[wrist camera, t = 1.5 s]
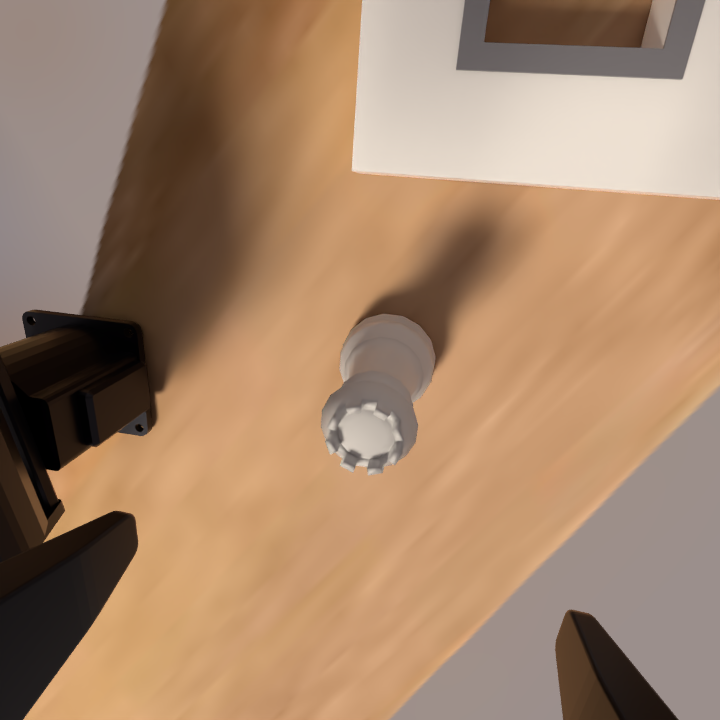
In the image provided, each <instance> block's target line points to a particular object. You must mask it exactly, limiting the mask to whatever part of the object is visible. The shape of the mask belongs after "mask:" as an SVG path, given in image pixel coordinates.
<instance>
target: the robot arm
mask: <svg viewBox="0 0 720 720" xmlns="http://www.w3.org/2000/svg"><path fill="white" fill-rule="evenodd" d="M33 318H34V319H35V321H34V319H33ZM22 319H23V324H24V329H25V334H26V338H25V339H22V340H19V341H16V342H13V343H10V344H7V345H4V346H2V347H0V720H23V719H24V718H25V716H26V715H27V713H28V712H29V711H30V709H31V708H32V707H33V705H34V704H35V703H36V701H37V700H38V698H39V697H40V696H41V694H42V693H43V692H44V690H45V689H46V687H47V686H48V685H49V683H50V682H51V681H52V679H53V678H54V677H55V675H56V674H57V672H58V671H59V670H60V668H61V667H62V666H63V664H64V663H65V661H66V660H67V659H68V657H69V656H70V655H71V653H72V652H73V651H74V649H75V648H76V646H77V645H78V644H79V642H80V641H81V640H82V638H83V637H84V635H85V634H86V633H87V631H88V630H89V628H90V627H91V626H92V624H93V623H94V621H95V619H96V618H97V616H98V615H99V613H100V612H101V610H102V608H103V607H104V605H105V603H106V602H107V600H108V598H109V597H110V595H111V593H112V592H113V590H114V589H115V587H116V585H117V584H118V582H119V580H120V579H121V577H122V575H123V574H124V572H125V570H126V569H127V567H128V565H129V564H130V562H131V560H132V559H133V557H134V555H135V553H136V551H137V548H138V536H137V528H136V520H135V517H134V516H133V514H130V513H126V512H121V511H113V512H110V513H108V514H106V515H104V516H101V517H99V518H97V519H95V520H93V521H90V522H88V523H86V524H84V525H82V526H79V527H77V528H75V529H73V530H71V531H69V532H66V533H64V534H62V535H60V536H58V537H55V538H53V539H51V540H49V541H47V542H44V540H45V539H46V537H47V536H48V535H49V533H50V532H51V530H52V529H53V527H54V526H55V524H56V523H57V522H58V520H59V519H60V517H61V516H62V514H63V513H64V512H65V509H64V506H63V503H62V501H61V500H60V499H58V498H57V495H56V493H55V490H54V488H53V485H52V483H51V480H50V478H49V475H48V473H47V469H48V470H54V471H59V470H60V469H61V468H63V467H64V466H66V465H67V464H68V463H70V462H71V461H72V460H74V459H75V458H77V457H78V456H79V455H81V454H82V453H84V452H85V451H86V450H88V449H89V448H90V447H92V446H93V447H97V446H99V445H100V444H102V443H103V442H104V441H106V440H107V439H109V438H110V437H111V436H113V435H114V434H115V433H117V432H119V433H125V434H132V435H138V436H144V435H146V434H147V433H148V432H150V431H151V429H152V420H151V411H150V406H151V404H150V395H149V385H148V376H147V367H146V365H145V356H144V346H143V337H142V330H141V328H140V326H139V325H138V324H137V323H135V322H132V321H124V320H116V319H108V318H100V317H91V316H83V315H75V314H67V313H59V312H50V311H42V310H31V311H27V312H25V313H24V314H23V316H22ZM128 329H130V330H131V331H132V333H133V335H131V334H130V333H129V331H128ZM140 424H141V425H142V426H143V428H142V427H141V426H140ZM43 542H44V543H43ZM555 647H556V648H555V651H556V661H557V669H558V678H559V687H560V696H561V705H562V713H563V720H678V718H677V717H676V716H675V715H674V714H673V712H672V711H671V710H670V709H669V707H668V706H667V705H666V704H665V703H664V701H663V700H662V699H661V698H660V696H659V695H658V694H657V693H656V692H655V690H654V689H653V688H652V687H651V686H650V684H649V683H648V682H647V681H646V679H645V678H644V677H643V676H642V675H641V673H640V672H639V671H638V670H637V669H636V667H635V666H634V665H633V664H632V662H631V661H630V660H629V659H628V658H627V657H626V655H625V654H624V653H623V651H622V650H621V649H620V648H619V647H618V645H617V644H616V643H615V642H614V640H613V639H612V638H611V637H610V636H609V635H608V633H607V632H606V631H605V630H604V628H603V627H602V626H601V625H600V624H599V622H598V621H597V620H596V619H595V618H594V617H593V616H592V615H590V614H589V613H585V612H580V611H576V610H568V611H567V612H566V614H565V616H564V619H563V622H562V625H561V627H560V630H559V633H558V636H557V639H556V646H555Z"/></svg>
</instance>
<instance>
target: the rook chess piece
mask: <svg viewBox="0 0 720 720" xmlns="http://www.w3.org/2000/svg"><path fill="white" fill-rule="evenodd" d="M435 359H436V357H435V353H434V349H433V345H432V342H431V339H430V338H429V337H428V335H427V334H426V333H425V332H424V330H423V329H422V328H421V327H420V325H418V324H416V323H414V322H413V321H411V320H409V319H407V318H406V317H404V316H399V315H391V314H380V315H376V316H372V317H369V318H365V319H364V320H363V321H361V322H360V323H359V324H358V325H356V326H355V327H354V328H352V329H351V331H350V333H349V335H348V336H347V338H346V340H345V342H344V344H343V348H342V350H341V355H340V367H339V368H340V372H341V375H342V378H343V381H344V384H343V385H342V387H341V388H340V389H338V390H337V391H336V392H334V393H333V394H331V395H330V397H329V399H328V400H327V402H326V404H325V406H324V408H323V409H322V419H321V428H322V431H323V434H324V437H325V439H326V441H325V442H326V445H327V448H328V450H329V453H330V454H333V453H336V454H337V455H338V456H339V457H341V458H342V461H341V464H340V466H342V467H344V468H345V469H347V470H349V471H351V472H354V469H355V466H362V467H367V470H368V475H373V474H379V473H383V469H384V466H389V465H392V464H394V465H396V463H397V462H398V461H399V460H400V459H402V458H404V457H405V456H406V455H407V454H408V452H409V451H410V449H411V448H412V446H413V445H414V444H415V442H416V436H417V429H418V423H417V420H416V416H415V413H414V409H413V402H415V401H416V400H418V399H419V398H420V397H421V396H422V395H423V393H424V392H425V390H426V389H427V387H428V386H429V384H430V383H431V381H432V375H433V371H434V365H435Z"/></svg>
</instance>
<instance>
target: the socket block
mask: <svg viewBox="0 0 720 720" xmlns="http://www.w3.org/2000/svg"><path fill="white" fill-rule="evenodd" d="M489 4H490V0H362V14H361V30H360V46H359V63H358V79H357V95H356V111H355V127H354V144H353V160H352V171H354V172H357V173H360V174H373V175H386V176H400V177H414V178H427V179H441V180H454V181H468V182H482V183H495V184H509V185H523V186H536V187H550V188H564V189H577V190H591V191H605V192H618V193H632V194H646V195H659V196H673V197H686V198H700V199H714V200H720V0H653V1H652V5H651V9H650V13H649V16H648V20H647V24H646V28H645V32H644V36H643V40H642V44H641V48H631V47H603V46H574V45H546V44H518V43H490V42H484V39H485V32H486V25H487V18H488V11H489Z"/></svg>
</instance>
